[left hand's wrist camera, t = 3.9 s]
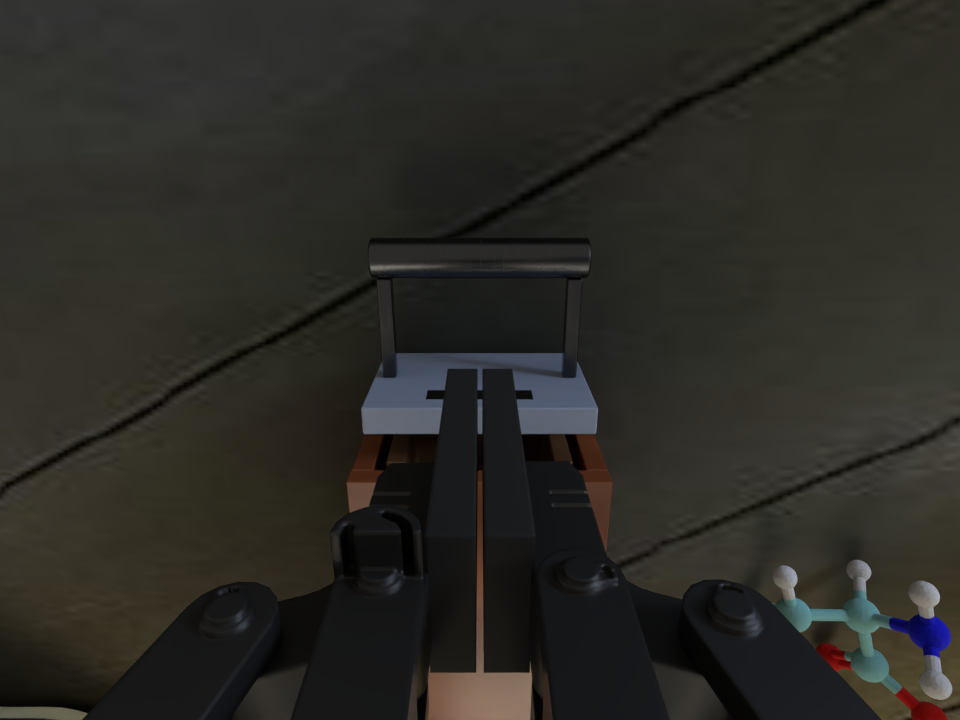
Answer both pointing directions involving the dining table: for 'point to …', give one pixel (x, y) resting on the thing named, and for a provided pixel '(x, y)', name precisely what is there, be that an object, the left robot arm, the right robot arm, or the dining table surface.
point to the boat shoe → (40, 713)
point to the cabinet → (482, 696)
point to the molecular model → (867, 620)
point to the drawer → (422, 376)
